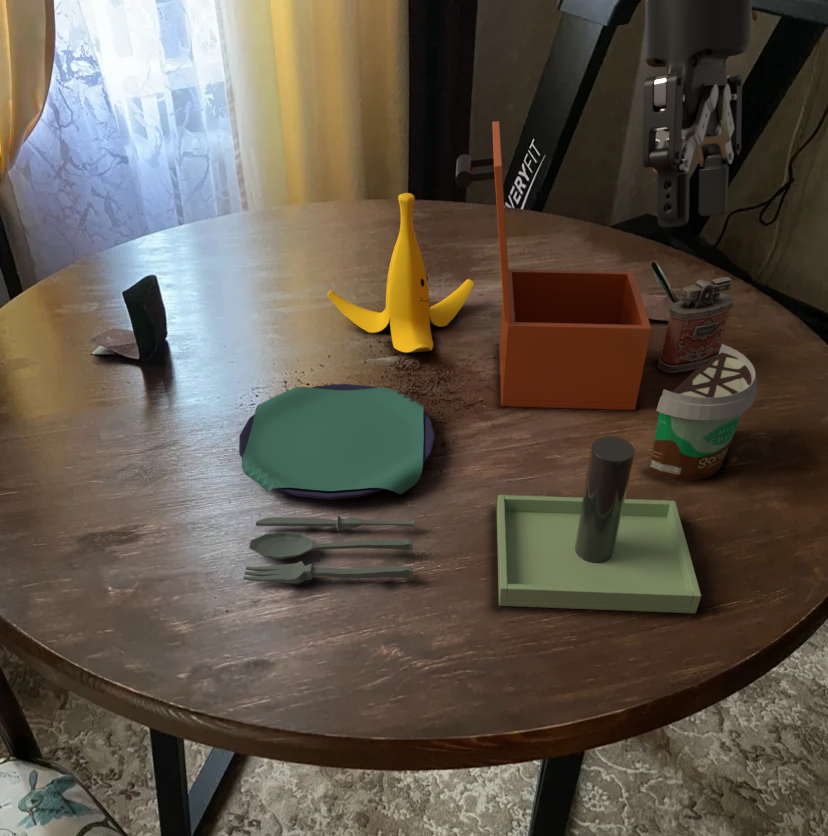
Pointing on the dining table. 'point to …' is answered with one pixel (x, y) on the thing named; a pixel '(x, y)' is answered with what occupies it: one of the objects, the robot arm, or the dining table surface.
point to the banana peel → (406, 294)
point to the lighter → (696, 326)
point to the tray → (593, 582)
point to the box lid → (467, 177)
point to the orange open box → (573, 340)
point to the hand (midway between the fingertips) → (693, 220)
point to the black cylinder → (603, 498)
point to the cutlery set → (333, 466)
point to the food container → (702, 417)
